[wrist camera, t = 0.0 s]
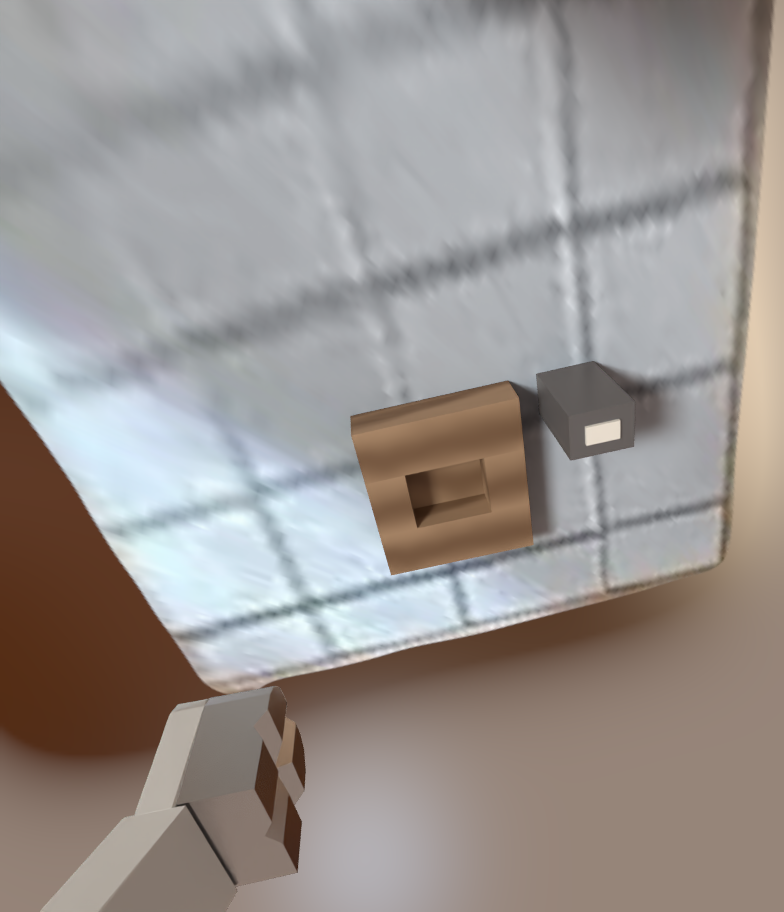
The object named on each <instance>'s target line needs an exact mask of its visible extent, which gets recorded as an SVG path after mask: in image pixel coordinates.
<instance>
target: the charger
mask: <svg viewBox="0 0 784 912" xmlns="http://www.w3.org/2000/svg"><path fill="white" fill-rule="evenodd" d="M536 377H537V390H538V403H539V414H540V416H541V417H542V419H543V420H544V422H545V423H546V425H547V426H548V428H549V429H550V431H551V432H552V434H553V435H554V437H555V438H556V440H557V441H558V443H559V444H560V446H561V447H562V448H563V450H564V451H565V453H566V454H567V456H568V457H569V459H570V460H575V459H580V458H584V457H589V456H594V455H598V454H603V453H607V452H612V451H616V450H621V449H625V448H630V447H634V429H635V401H634V400H633V399H632V398H631V397H630V396H629V395H628V394H627V393H626V392H625V391H624V390H623V389H622V388H621V387H620V386H619V385H618V384H617V383H616V382H615V381H614V380H613V379H612V378H611V377H609V376H608V375H607V374H606V373H605V372H604V371H603V370H602V369H601V368H600V367H599V366H598V365H597V364H596V363H595V362H594V361H591V362H587V363H582V364H578V365H573V366H569V367H564V368H560V369H556V370H551V371H547V372H542V373H538V374H536Z"/></svg>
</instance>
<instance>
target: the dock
mask: <svg viewBox="0 0 784 912" xmlns="http://www.w3.org/2000/svg"><path fill="white" fill-rule="evenodd" d="M351 436H352V440H353V443H354V447H355V450H356V454H357V457H358V461H359V464H360V468H361V471H362V475H363V478H364V482H365V485H366V489H367V492H368V496H369V499H370V503H371V506H372V510H373V513H374V517H375V520H376V524H377V527H378V531H379V534H380V538H381V541H382V545H383V548H384V552H385V555H386V559H387V562H388V566H389V569H390V573H391V575H395V574H400V573H404V572H409V571H414V570H418V569H423V568H428V567H432V566H437V565H442V564H446V563H451V562H456V561H460V560H465V559H470V558H474V557H479V556H484V555H488V554H493V553H498V552H502V551H507V550H512V549H516V548H521V547H526V546H530V545H533V535H532V524H531V514H530V504H529V494H528V484H527V474H526V464H525V454H524V443H523V433H522V423H521V413H520V403H519V397H518V396H517V394H516V392H515V391H514V389H513V388H512V386H511V385H510V383H509V381H504V382H499V383H495V384H490V385H486V386H482V387H477V388H473V389H468V390H464V391H459V392H455V393H451V394H446V395H442V396H437V397H433V398H428V399H424V400H420V401H415V402H411V403H406V404H402V405H398V406H393V407H389V408H384V409H380V410H375V411H371V412H367V413H362V414H358V415H353V416H351Z"/></svg>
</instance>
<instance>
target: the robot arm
mask: <svg viewBox="0 0 784 912" xmlns="http://www.w3.org/2000/svg"><path fill="white" fill-rule="evenodd" d="M286 708H287V701H286V699H285V697H284V695H283V693H282V691H281V689H280V687H275V686H273V687H268V688H262V689H257V690H251V691H246V692H240V693H235V694H229V695H224V696H218V697H213V698H210V699H206V700H200V701H195V702H190V703H184V704H178V705H177V706H176V708H175V709H174V710H173V711H172V712H171V714H170V715H169V718H168V721H167V724H166V727H165V729H164V732H163V735H162V738H161V741H160V744H159V747H158V750H157V752H156V755H155V758H154V761H153V764H152V766H151V770H150V772H149V775H148V778H147V781H146V783H145V786H144V789H143V792H142V795H141V798H140V801H139V804H138V806H137V809H136V812H135V815H134V816H129V817H125V818H123V819H122V820H121V821H120V822H119V824H118V825H117V826H116V827H115V828H114V829H113V830H112V831H111V832H110V834H109V835H108V836H107V837H106V838H105V839H104V840H103V841H102V843H101V844H100V845H99V846H98V847H97V848H96V849H95V850H94V851H93V853H92V854H91V855H90V856H89V857H88V858H87V859H86V860H85V862H84V863H83V864H82V865H81V866H80V867H79V868H78V869H77V870H76V871H75V873H74V874H73V875H72V876H71V877H70V878H69V879H68V880H67V882H66V883H65V884H64V885H63V886H62V887H61V888H60V889H59V891H58V892H57V893H56V894H55V895H54V896H53V897H52V898H51V900H50V901H49V902H48V903H47V904H46V905H45V906H44V907H43V908H42V909H41V911H40V912H226V910H227V909H228V907H229V905H230V903H231V902H232V900H233V898H234V896H235V894H236V893H237V889H236V887H237V886H242V885H246V884H250V883H255V882H259V881H263V880H268V879H272V878H276V877H281V876H285V875H290V874H294V873H298V862H299V849H300V839H301V827H302V821H301V819H300V817H299V815H298V812H297V810H296V808H295V806H294V805H295V804H296V802H297V801H298V799H299V798H300V796H301V795H302V793H303V792H304V789H305V774H306V768H305V754H304V747H303V743H302V739H301V734H300V732H299V729H298V727H297V725H296V723H295V722H293V721H291V720H289V719H288V718H286V717H285V716H286Z"/></svg>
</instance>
